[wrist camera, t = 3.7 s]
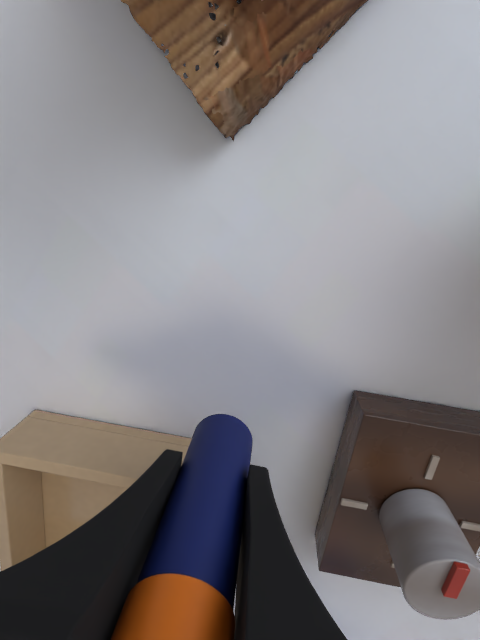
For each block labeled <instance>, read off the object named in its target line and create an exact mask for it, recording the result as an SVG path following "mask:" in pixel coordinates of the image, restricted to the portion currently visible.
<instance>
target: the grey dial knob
mask: <svg viewBox="0 0 480 640" xmlns="http://www.w3.org/2000/svg"><path fill="white" fill-rule="evenodd" d="M379 519H380V523H381V526H382V530H383V533H384V536H385V539H386V542H387V545H388V548H389V551H390V554H391V558H392V561H393V564H394V567H395V570H396V573H397V576H398V579H399V582H400V586H401V589H402V592H403V595H404V597H405V599H406V601H407V602H408V604H409V605H410V606H411V607H412V608H413V609H414V610H416V611H417V612H419V613H421V614H423V615H425V616H428V617H432V618H436V619H457V618H462V617H465V616H468V615H471V614H473V613H475V612H476V611H478V610H479V609H480V562H479V560H478V559H477V557H476V555H475V553H474V551H473V550H472V548H471V546H470V544H469V543H468V541H467V539H466V537H465V536H464V534H463V532H462V530H461V528H460V527H459V525H458V523H457V521H456V520H455V518H454V516H453V514H452V513H451V511H450V509H449V507H448V505H447V504H446V502H445V501H444V500H443V499H442V498H441V497H440V496H438V495H437V494H435V493H433V492H430V491H428V490H424V489H407V490H403V491H399V492H397V493H395V494H393V495H392V496H390V497H389V498H388V499H387V500H386V501H385V502H384V503H383V505H382V507H381V509H380V513H379Z"/></svg>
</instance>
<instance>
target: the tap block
mask: <svg viewBox="0 0 480 640" xmlns="http://www.w3.org/2000/svg"><path fill="white" fill-rule="evenodd" d="M407 489H424V490H428V491H430V492H433V493H435V494H437V495H438V496H440V497H441V498H442V499H443V500H444V501H445V502H446V504H447V505H448V507H449V509H450V511H451V513H452V514H453V516H454V518H455V520H456V521H457V523H458V525H459V527H460V528H461V530H462V532H463V534H464V536H465V537H466V539H467V541H468V543H469V544H470V546H471V548H472V550H473V551H474V553H475V555H476V553H477V550H478V548H479V546H480V412H478V411H472V410H466V409H460V408H454V407H449V406H443V405H437V404H431V403H425V402H419V401H413V400H408V399H402V398H396V397H390V396H384V395H378V394H372V393H367V392H361V391H355V390H354V392H353V395H352V399H351V403H350V406H349V410H348V414H347V418H346V421H345V425H344V429H343V432H342V436H341V440H340V444H339V447H338V451H337V455H336V458H335V462H334V466H333V469H332V473H331V477H330V481H329V484H328V488H327V492H326V495H325V499H324V503H323V506H322V510H321V514H320V518H319V521H318V525H317V529H316V532H315V539H316V549H317V558H318V567H319V571H323V572H328V573H333V574H338V575H343V576H347V577H352V578H357V579H362V580H367V581H372V582H377V583H382V584H387V585H392V586H397V587H401V586H400V582H399V579H398V576H397V573H396V570H395V567H394V564H393V561H392V558H391V554H390V551H389V548H388V545H387V542H386V539H385V536H384V533H383V530H382V526H381V523H380V519H379V513H380V509H381V507H382V505H383V503H384V502H385V501H386V500H387V499H388V498H389V497H390V496H392V495H393V494H395V493H397V492H399V491H403V490H407Z"/></svg>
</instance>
